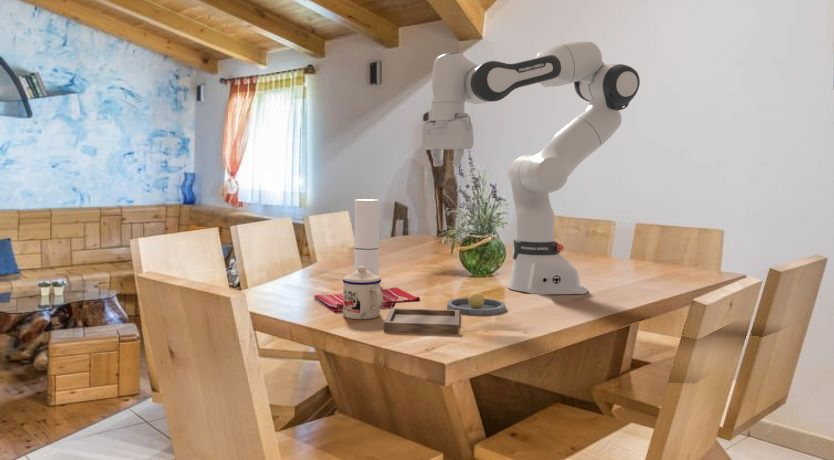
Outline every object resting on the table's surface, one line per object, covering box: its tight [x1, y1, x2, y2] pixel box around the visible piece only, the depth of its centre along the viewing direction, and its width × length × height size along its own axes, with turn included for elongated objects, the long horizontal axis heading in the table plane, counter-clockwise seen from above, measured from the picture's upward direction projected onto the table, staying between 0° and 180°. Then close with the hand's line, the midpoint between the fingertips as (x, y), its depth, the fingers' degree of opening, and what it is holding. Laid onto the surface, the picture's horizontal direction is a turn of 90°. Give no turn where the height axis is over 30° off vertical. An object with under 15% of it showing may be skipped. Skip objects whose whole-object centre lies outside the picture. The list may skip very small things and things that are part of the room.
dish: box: [446, 296, 507, 316], centre depth 160 cm, size 14×14×2 cm
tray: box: [383, 307, 460, 335], centre depth 147 cm, size 16×14×2 cm
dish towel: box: [313, 286, 421, 313], centre depth 170 cm, size 17×24×3 cm
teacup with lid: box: [342, 266, 383, 320], centre depth 153 cm, size 12×9×12 cm
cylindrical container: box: [353, 198, 380, 276], centre depth 193 cm, size 7×7×25 cm
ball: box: [467, 291, 485, 308], centre depth 159 cm, size 4×4×4 cm
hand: (446, 166), depth 176 cm, fingers open, 8 cm apart
